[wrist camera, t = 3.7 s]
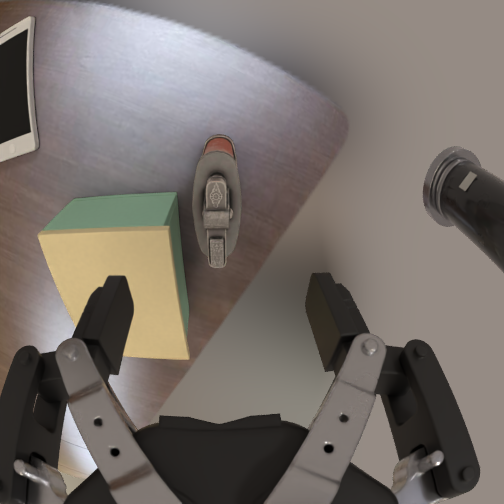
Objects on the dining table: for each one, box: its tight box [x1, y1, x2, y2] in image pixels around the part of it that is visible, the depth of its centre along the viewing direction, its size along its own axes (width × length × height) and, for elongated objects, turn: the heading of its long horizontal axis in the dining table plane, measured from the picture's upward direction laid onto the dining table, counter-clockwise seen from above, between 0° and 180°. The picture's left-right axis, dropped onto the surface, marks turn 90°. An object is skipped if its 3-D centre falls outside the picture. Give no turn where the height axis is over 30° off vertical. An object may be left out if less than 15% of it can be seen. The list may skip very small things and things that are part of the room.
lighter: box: [192, 134, 242, 268], centre depth 21 cm, size 8×3×10 cm, turn 178°
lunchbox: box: [42, 192, 189, 338], centre depth 26 cm, size 12×16×7 cm
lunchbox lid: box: [38, 226, 190, 360], centre depth 23 cm, size 12×16×1 cm
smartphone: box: [0, 16, 39, 162], centre depth 16 cm, size 7×16×1 cm, turn 0°
